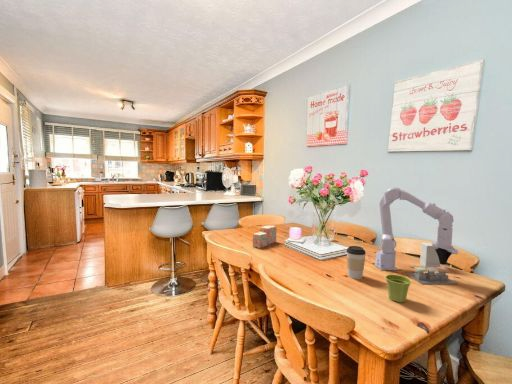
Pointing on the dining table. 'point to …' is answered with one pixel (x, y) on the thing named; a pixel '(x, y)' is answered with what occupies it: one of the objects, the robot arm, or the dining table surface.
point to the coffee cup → (355, 261)
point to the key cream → (431, 270)
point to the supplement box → (429, 255)
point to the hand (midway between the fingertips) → (442, 264)
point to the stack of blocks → (264, 236)
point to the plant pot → (397, 287)
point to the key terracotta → (442, 270)
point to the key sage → (420, 270)
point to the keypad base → (431, 278)
